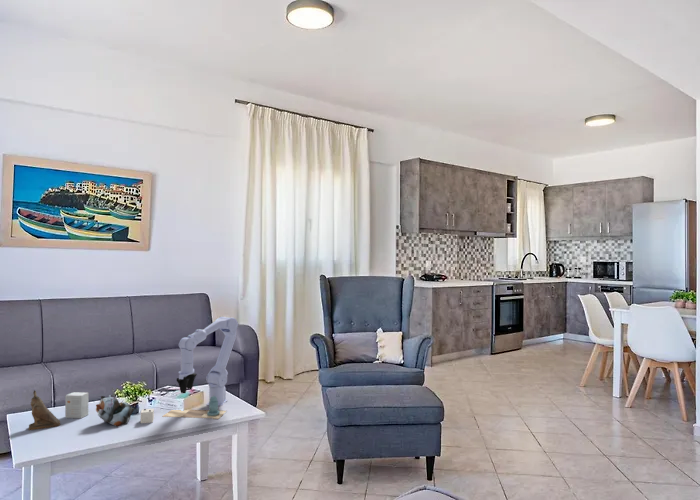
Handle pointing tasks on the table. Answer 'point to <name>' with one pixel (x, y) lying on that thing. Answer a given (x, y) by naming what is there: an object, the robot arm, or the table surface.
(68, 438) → the table surface
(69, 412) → the small box
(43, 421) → the brown carved statuette
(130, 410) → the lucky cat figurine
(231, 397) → the table surface
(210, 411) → the pawn
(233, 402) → the table surface
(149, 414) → the cream block
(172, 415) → the game board
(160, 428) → the table surface
